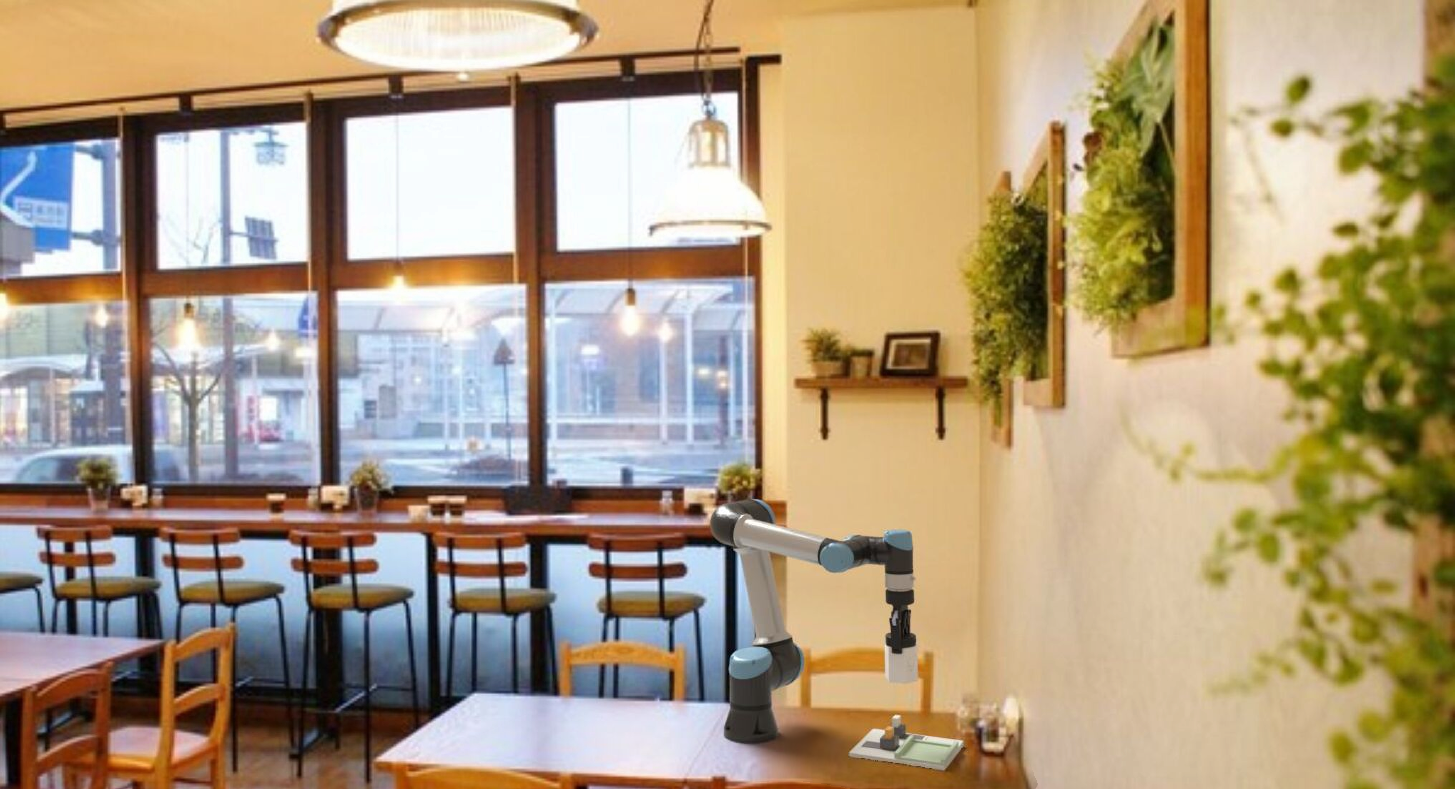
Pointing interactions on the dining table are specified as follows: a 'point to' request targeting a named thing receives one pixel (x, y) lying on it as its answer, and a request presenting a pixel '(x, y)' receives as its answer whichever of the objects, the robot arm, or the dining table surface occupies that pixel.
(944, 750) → the panel
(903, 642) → the jar
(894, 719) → the toggle plain
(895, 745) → the toggle tagged
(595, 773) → the dining table surface
